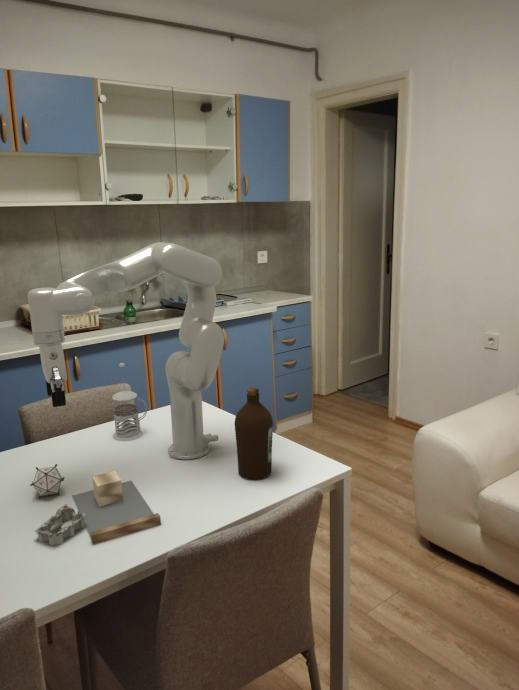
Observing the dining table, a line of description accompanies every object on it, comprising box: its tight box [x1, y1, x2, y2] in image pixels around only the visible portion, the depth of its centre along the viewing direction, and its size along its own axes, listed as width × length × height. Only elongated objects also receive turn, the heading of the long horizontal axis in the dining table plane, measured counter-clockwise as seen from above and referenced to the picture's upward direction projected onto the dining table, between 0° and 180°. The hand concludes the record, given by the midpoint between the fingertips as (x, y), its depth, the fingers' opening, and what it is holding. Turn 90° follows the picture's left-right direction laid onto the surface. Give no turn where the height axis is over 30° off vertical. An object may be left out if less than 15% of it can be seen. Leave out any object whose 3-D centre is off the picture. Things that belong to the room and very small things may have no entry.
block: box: [91, 470, 123, 508], centre depth 145 cm, size 6×6×6 cm
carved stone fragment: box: [34, 503, 87, 546], centre depth 131 cm, size 11×8×4 cm
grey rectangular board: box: [71, 480, 155, 540], centre depth 142 cm, size 16×24×1 cm
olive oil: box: [234, 386, 274, 481], centre depth 156 cm, size 11×11×25 cm
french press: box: [111, 362, 148, 442], centre depth 184 cm, size 10×12×25 cm
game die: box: [29, 463, 66, 499], centre depth 148 cm, size 9×8×10 cm
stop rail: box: [90, 512, 162, 545], centre depth 131 cm, size 16×2×2 cm, turn 118°
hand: (56, 400), depth 147 cm, fingers open, 9 cm apart
